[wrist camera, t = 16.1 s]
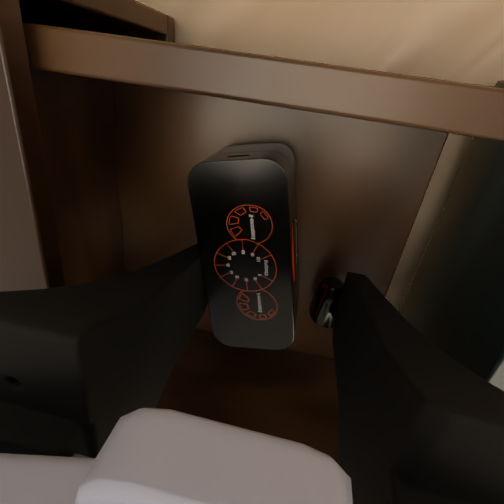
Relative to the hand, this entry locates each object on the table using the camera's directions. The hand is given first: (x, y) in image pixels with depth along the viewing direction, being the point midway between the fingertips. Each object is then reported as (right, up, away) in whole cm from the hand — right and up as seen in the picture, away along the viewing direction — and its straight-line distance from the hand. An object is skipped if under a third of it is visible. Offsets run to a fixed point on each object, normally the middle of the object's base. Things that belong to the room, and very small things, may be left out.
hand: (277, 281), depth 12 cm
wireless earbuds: (0, +1, +1) cm, 2 cm away
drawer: (+3, +1, +2) cm, 3 cm away
